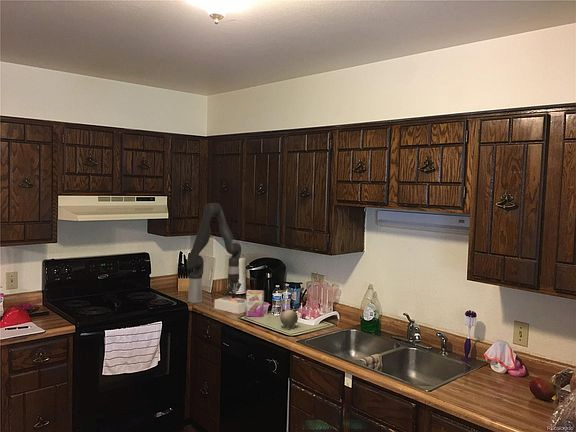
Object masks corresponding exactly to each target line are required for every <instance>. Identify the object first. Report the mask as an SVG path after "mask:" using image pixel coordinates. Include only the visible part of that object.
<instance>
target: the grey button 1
mask: <svg viewBox="0 0 576 432" xmlns="http://www.w3.org/2000/svg"><path fill="white" fill-rule="evenodd" d="M230 297H231V296H230ZM230 297H229V296H222V297H221V298H222V299H223V300H229V299H230Z"/></svg>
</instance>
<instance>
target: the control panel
mask: <svg viewBox="0 0 576 432" xmlns="http://www.w3.org/2000/svg"><path fill="white" fill-rule="evenodd" d="M228 297H230V298H231V295H230V296H228ZM236 298H237V300H245V303H237V301H235V302H232V301H230V299H229V300H223V299H222V297H221V298H216V299H214V309H215V310H220V311H225V312H229V313H233V314H241V313H246V298H245V299H244V298H239V297H236Z"/></svg>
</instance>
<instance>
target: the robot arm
mask: <svg viewBox="0 0 576 432" xmlns="http://www.w3.org/2000/svg"><path fill="white" fill-rule="evenodd" d="M225 216H226V215H225V213H224V211H223V208H222V206H221V205H220V203H217V202H210V203H207V204H206V205H205V206H204V208H203V213H202V217H201V222H200V225H199V227H198V230H197V234H196V236H195V240H194V242H193V244H192V248H191V251H190V252H189V254H188V255H187V256H188V257H187V259H186V266H187V268H188V269H189V270H192V272H190V273H189V274H188V288H187V299H188V300H187V302H189V303H192V304H198V303H202V302H203V275H204V267H205V265H204V263H205V262H204V261H205V260H204V258H203V256H202V255H200V253H201V252H202V251H203V249H205V247H207V245H208V243H209V241H210V238H211V236H212V231H211V226H210V225H211V221H212V218H213V217H216V219H217V221H218V225H219V227H218V228H219V229H218V231H219V233H220V236H221V238H222V240H223V242H224V246H225V249H226V252H227V253H228V254H230V255H231V256H230V257H229V258H228V269H227V279H228V284H227V285H225V288H226V289H227V291H228V292H229V293H231V294H230V297H232V298H237V297H236V296H237V292H239V290H240V288H241V285H242V283H240V258H241V255H242V246H241V244H240V243H238V242H233V240H234V235H233V233H232V231H231V229H230V227H229V225H228V222H227V220H226V217H225Z"/></svg>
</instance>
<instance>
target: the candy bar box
mask: <svg viewBox="0 0 576 432" xmlns="http://www.w3.org/2000/svg"><path fill="white" fill-rule="evenodd" d="M245 300H246V312H245V317H251V318H253V317H254V318H264V315H265V313H264V311H265V310H264V309H265V290H255V289H247V290H246V291H245Z"/></svg>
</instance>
